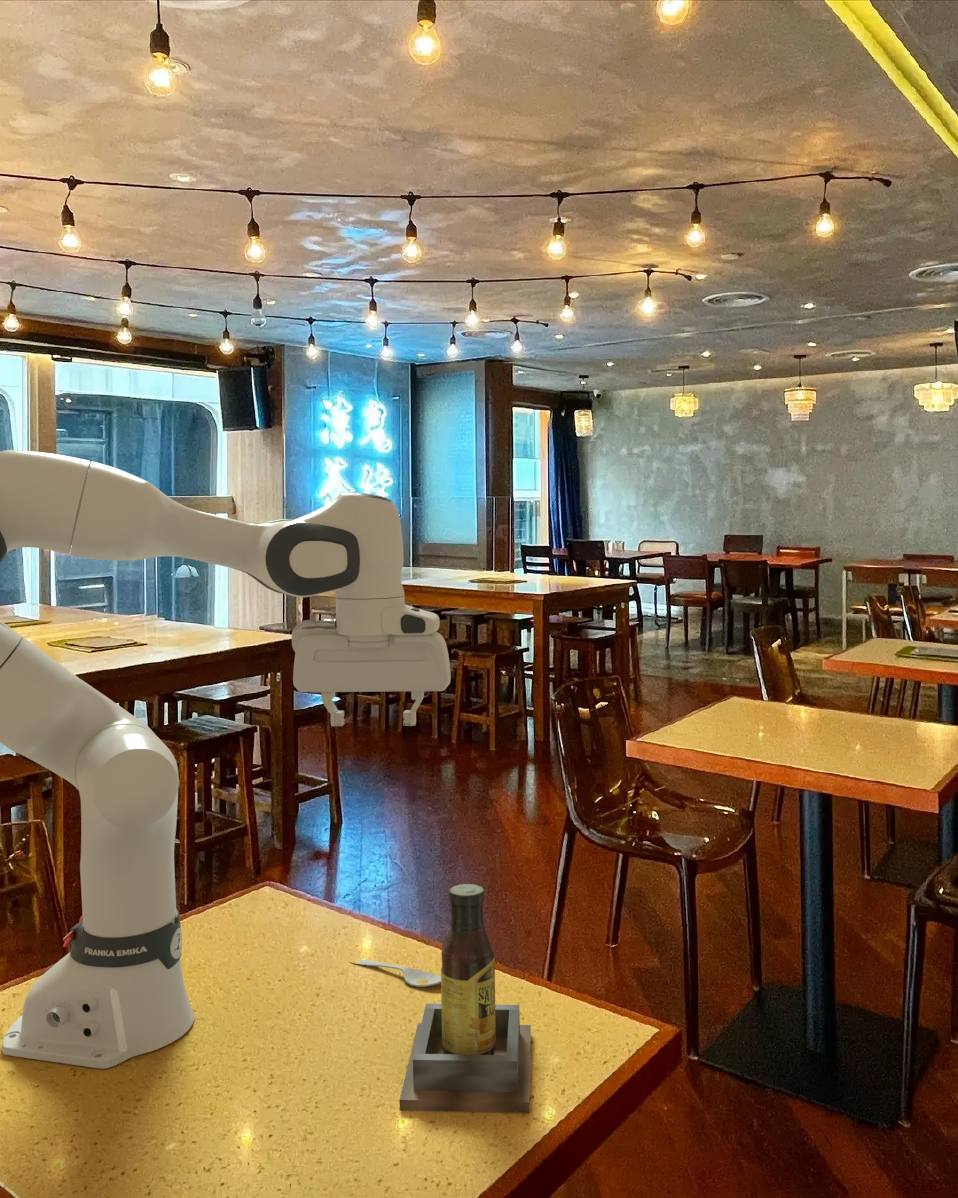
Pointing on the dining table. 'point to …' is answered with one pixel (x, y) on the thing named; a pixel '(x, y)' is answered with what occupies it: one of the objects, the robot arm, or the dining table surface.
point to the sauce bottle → (468, 977)
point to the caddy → (469, 1069)
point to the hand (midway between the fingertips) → (373, 725)
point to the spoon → (408, 973)
